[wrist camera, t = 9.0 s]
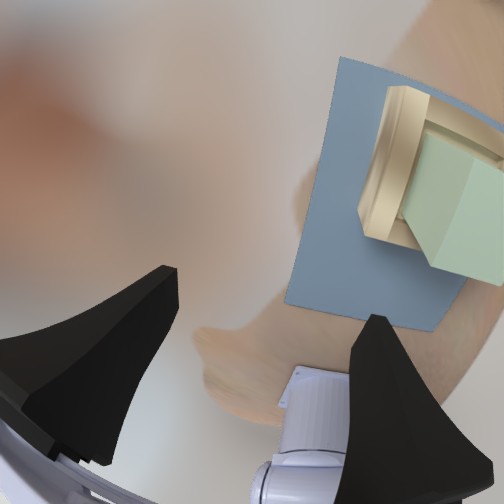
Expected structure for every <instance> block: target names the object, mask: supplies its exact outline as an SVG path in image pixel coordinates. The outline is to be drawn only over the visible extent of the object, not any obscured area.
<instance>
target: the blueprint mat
mask: <svg viewBox="0 0 504 504" xmlns="http://www.w3.org/2000/svg"><path fill="white" fill-rule="evenodd" d="M389 86H409V87H412V88H414V89H417V90H419V91H422V92H424V93H426V94H429V95H431V96H433V97H436V98H438V99H440V100H442V101H444V102H447V103H449V104H451V105H453V106H455V107H457V108H459V109H461V110H463V111H465V112H467V113H468V114H470V115H472V116H474V117H476V118H478V119H479V120H481V121H483V122H485V123H486V124H488V125H490V126H491V127H493V128H495V129H496V130H498V131H500V132H501V133H503V134H504V126H503V125H501V124H500V123H498V122H496V121H495V120H493V119H492V118H490V117H488V116H487V115H485V114H483V113H481V112H480V111H478V110H476V109H474V108H473V107H471V106H469V105H467V104H465V103H463V102H461V101H459V100H457V99H455V98H453V97H451V96H449V95H447V94H445V93H443V92H441V91H439V90H437V89H434V88H432V87H430V86H428V85H425V84H423V83H420V82H418V81H416V80H413V79H410V78H408V77H405V76H403V75H400V74H397V73H394V72H391V71H389V70H386V69H383V68H379V67H376V66H373V65H370V64H366V63H363V62H360V61H356V60H352V59H348V58H345V57H340V58H339V64H338V70H337V75H336V81H335V86H334V92H333V98H332V102H331V108H330V113H329V119H328V123H327V128H326V133H325V137H324V142H323V147H322V152H321V156H320V161H319V165H318V170H317V174H316V179H315V183H314V187H313V192H312V196H311V200H310V204H309V208H308V213H307V217H306V221H305V225H304V229H303V233H302V237H301V241H300V244H299V248H298V252H297V256H296V260H295V264H294V267H293V271H292V275H291V279H290V282H289V286H288V289H287V293H286V296H285V300H284V303H286V304H290V305H295V306H299V307H304V308H308V309H313V310H318V311H322V312H327V313H332V314H337V315H341V316H346V317H351V318H356V319H362V320H368V319H369V317H370V315H371V314H376V315H381V316H386V317H387V319H388V321H389V322H390V324H391V325H394V326H399V327H405V328H411V329H417V330H423V331H429V332H433V331H434V329H435V328H436V326H437V325H438V323H439V322H440V321H441V319H442V318H443V316H444V315H445V313H446V312H447V310H448V309H449V307H450V306H451V304H452V302H453V301H454V299H455V298H456V296H457V294H458V293H459V291H460V290H461V288H462V286H463V284H464V283H465V281H466V279H467V278H468V277H467V276H463V275H460V274H456V273H453V272H449V271H446V270H442V269H439V268H435V267H431V266H430V264H429V262H428V260H427V258H426V256H425V254H424V252H423V251H419V250H415V249H412V248H408V247H405V246H401V245H397V244H394V243H390V242H386V241H383V240H379V239H375V238H371V237H367V236H365V234H364V231H363V227H362V224H361V220H360V217H359V214H358V210H357V207H358V204H359V201H360V197H361V194H362V191H363V187H364V184H365V180H366V177H367V173H368V170H369V166H370V162H371V158H372V155H373V151H374V147H375V143H376V139H377V135H378V131H379V126H380V122H381V118H382V113H383V108H384V104H385V99H386V94H387V89H388V87H389Z"/></svg>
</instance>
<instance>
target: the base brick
mask: <svg viewBox="0 0 504 504" xmlns="http://www.w3.org/2000/svg"><path fill="white" fill-rule="evenodd" d="M426 133H427V134H429V135H431V136H434V137H436V138H438V139H441V140H443V141H445V142H448V143H450V144H452V145H454V146H456V147H458V148H460V149H462V150H465V151H467V152H469V153H471V154H473V155H475V156H476V157H478V158H480V159H482V160H484V161H486V162H488V163H490V164H491V165H493V166H495V167H496V168H498V169H500V170H501V171H503V172H504V134H503V133H501V132H500V131H498V130H496V129H495V128H493V127H491V126H490V125H488V124H486V123H485V122H483V121H481V120H479V119H478V118H476V117H474V116H472V115H470V114H468V113H467V112H465V111H463V110H461V109H459V108H457V107H455V106H453V105H451V104H449V103H447V102H444V101H442V100H440V99H438V98H436V97H433V96H431V95H429V94H426V93H424V92H422V91H419V90H417V89H414V88H412V87H409V86H389V87H388V89H387V94H386V99H385V104H384V108H383V113H382V118H381V122H380V126H379V131H378V135H377V139H376V143H375V147H374V151H373V155H372V158H371V162H370V166H369V170H368V173H367V177H366V180H365V184H364V187H363V191H362V194H361V197H360V201H359V204H358V207H357V210H358V214H359V217H360V220H361V224H362V227H363V231H364V234H365V236H367V237H371V238H375V239H379V240H383V241H386V242H390V243H394V244H397V245H401V246H405V247H408V248H412V249H415V250H419V251H423V250H422V249H421V247H420V245H419V243H418V241H417V239H416V238H415V236H414V234H413V232H412V230H411V229H410V227H409V225H408V223H407V222H406V220H405V218H404V217H403V215H402V213H401V212H402V209H403V207H404V204H405V201H406V198H407V195H408V192H409V190H410V187H411V184H412V180H413V177H414V174H415V171H416V168H417V165H418V161H419V158H420V154H421V151H422V147H423V144H424V140H425V136H426Z"/></svg>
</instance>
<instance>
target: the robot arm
mask: <svg viewBox="0 0 504 504" xmlns="http://www.w3.org/2000/svg"><path fill="white" fill-rule="evenodd" d="M178 309H179V299H178V278H177V268H173V267H169V266H165V265H162V266H160V267H158V268H156V269H155V270H153V271H152V272H150V273H148V274H147V275H145V276H144V277H143V278H141V279H139V280H138V281H136V282H135V283H133V284H131V285H130V286H128V287H127V288H125V289H124V290H122V291H120V292H119V293H117V294H115V295H114V296H112V297H110V298H108V299H107V300H105V301H103V302H102V303H100V304H98V305H96V306H95V307H93V308H91V309H89V310H87V311H85V312H83V313H81V314H79V315H76V316H74V317H73V318H70V319H68V320H65V321H63V322H60V323H57V324H55V325H52V326H50V327H47V328H44V329H41V330H38V331H35V332H32V333H28V334H25V335H20V336H16V337H12V338H6V339H1V340H0V490H1V491H2V493H3V494H4V495H5V497H6V498H7V499H8V500H9V501H10V502H11V503H12V504H110V503H108V502H106V501H103V500H101V499H98V498H96V497H94V496H92V495H91V492H90V490H91V491H93V492H95V493H97V494H98V495H100V496H102V497H104V498H106V499H108V500H110V501H112V502H114V503H116V504H157V503H155V502H152V501H150V500H148V499H145V498H143V497H140V496H138V495H136V494H134V493H131V492H129V491H127V490H125V489H122V488H121V487H119V486H117V485H115V484H113V483H111V482H109V481H107V480H105V479H103V478H101V477H99V476H98V475H96V474H94V473H92V472H91V471H89V470H87V469H85V468H84V467H82V466H80V465H79V464H78V463H79V461H80V459H81V460H83V461H85V462H86V463H90V461H91V460H93V461H94V462H96V463H98V464H100V465H102V466H107V465H110V464H112V459H113V455H114V451H115V448H116V444H117V441H118V437H119V434H120V431H121V428H122V425H123V422H124V419H125V417H126V414H127V411H128V409H129V406H130V404H131V401H132V399H133V396H134V394H135V392H136V389H137V387H138V385H139V382H140V380H141V378H142V376H143V374H144V373H145V371H146V369H147V367H148V366H149V364H150V362H151V361H152V359H153V357H154V356H155V354H156V352H157V351H158V349H159V347H160V346H161V344H162V342H163V341H164V339H165V337H166V335H167V334H168V332H169V330H170V328H171V325H172V323H173V321H174V319H175V316H176V314H177V311H178ZM278 406H279V407H281V408H285V414H284V419H283V425H282V430H281V435H280V441H279V446H278V449H279V453H278V454H273V459H272V461H267V462H265V463H264V464H263V465H262V466H261V467H259V468H258V470H257V472H256V474H255V476H254V479H253V483H252V487H251V493H250V504H462V499H465V498H467V497H469V496H472V495H474V494H477V493H479V492H481V491H483V490H485V489H487V488H489V487H491V486H492V485H493V484H494V473H493V462H492V461H491V460H490V459H489V458H488V457H486V456H485V455H484V454H483V453H482V452H481V451H479V450H478V449H477V448H476V447H475V446H474V445H473V444H472V443H471V442H470V441H469V440H468V439H467V438H466V437H465V436H464V435H463V434H462V432H461V431H460V430H459V429H458V428H457V427H456V426H455V424H454V423H453V422H452V421H451V420H450V418H449V417H448V416H447V415H446V413H445V412H444V411H443V410H442V408H441V407H440V405H439V404H438V402H437V401H436V400H435V398H434V397H433V395H432V394H431V392H430V391H429V389H428V388H427V386H426V385H425V383H424V381H423V380H422V378H421V377H420V375H419V373H418V372H417V370H416V368H415V367H414V365H413V363H412V361H411V360H410V358H409V356H408V354H407V353H406V351H405V349H404V347H403V345H402V344H401V342H400V340H399V338H398V336H397V335H396V333H395V331H394V329H393V328H392V326H391V324H390V322H389V321H388V319H387V317H386V316H381V315H376V314H371V315H370V317H369V319H368V320H367V322H366V324H365V326H364V328H363V329H362V331H361V333H360V335H359V336H358V338H357V340H356V341H355V343H354V345H353V346H352V348H351V355H350V366H349V374H345V373H338V372H332V371H326V370H321V369H315V368H310V367H304V366H297V367H296V368H295V370H294V372H293V374H292V376H291V378H290V380H289V382H288V384H287V386H286V389H285V391H284V393H283V395H282V397H281V399H280V401H279V403H278ZM89 489H90V490H89Z"/></svg>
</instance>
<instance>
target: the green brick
mask: <svg viewBox="0 0 504 504" xmlns="http://www.w3.org/2000/svg"><path fill="white" fill-rule="evenodd" d="M401 213H402V215H403V217H404V218H405V220H406V222H407V223H408V225H409V227H410V229H411V230H412V232H413V234H414V236H415V238H416V239H417V241H418V243H419V245H420V247H421V249H422V250H423V252H424V254H425V256H426V258H427V260H428V262H429V264H430V266H431V267H435V268H439V269H442V270H446V271H449V272H453V273H456V274H460V275H463V276H467V277H470V278H474V279H477V280H480V281H484V282H487V283H490V284H494V285H497V286H500V287H501V286H502V284H503V282H504V172H503V171H501V170H500V169H498V168H496V167H495V166H493V165H491V164H490V163H488V162H486V161H484V160H482V159H480V158H478V157H476V156H475V155H473V154H471V153H469V152H467V151H465V150H462V149H460V148H458V147H456V146H454V145H452V144H450V143H448V142H445V141H443V140H441V139H438V138H436V137H434V136H431V135H429V134H427V133H426V136H425V140H424V144H423V147H422V151H421V154H420V158H419V161H418V165H417V168H416V171H415V174H414V177H413V180H412V184H411V187H410V190H409V192H408V195H407V198H406V201H405V204H404V207H403V209H402V212H401Z"/></svg>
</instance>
